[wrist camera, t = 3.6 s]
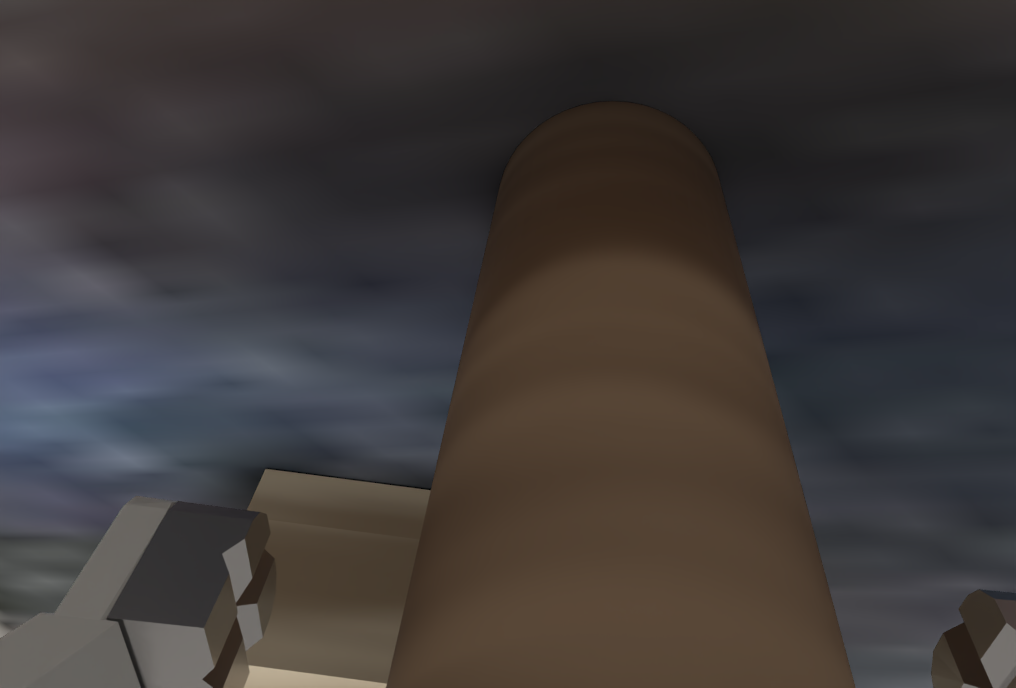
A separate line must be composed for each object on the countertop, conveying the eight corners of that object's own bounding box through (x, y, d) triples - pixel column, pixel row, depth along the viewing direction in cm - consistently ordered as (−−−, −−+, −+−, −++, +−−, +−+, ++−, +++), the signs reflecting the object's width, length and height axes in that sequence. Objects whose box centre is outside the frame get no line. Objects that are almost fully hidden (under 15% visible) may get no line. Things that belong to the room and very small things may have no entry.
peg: (508, 87, 13) (371, 598, 5) (747, 117, 13) (965, 678, 5) (490, 287, 16) (376, 844, 8) (692, 313, 16) (786, 901, 8)
